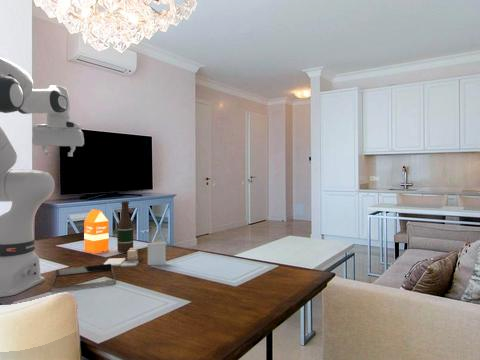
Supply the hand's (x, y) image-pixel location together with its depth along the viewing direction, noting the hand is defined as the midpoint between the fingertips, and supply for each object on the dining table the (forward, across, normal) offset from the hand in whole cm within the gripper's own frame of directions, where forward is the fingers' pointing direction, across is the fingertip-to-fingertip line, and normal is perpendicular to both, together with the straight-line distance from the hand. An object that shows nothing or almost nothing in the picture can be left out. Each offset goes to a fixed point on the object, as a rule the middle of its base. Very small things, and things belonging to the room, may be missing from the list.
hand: (58, 156), depth 147 cm
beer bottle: (+45, +25, +14) cm, 53 cm away
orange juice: (+45, +11, +16) cm, 49 cm away
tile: (+45, +43, -13) cm, 63 cm away
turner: (+45, +32, -9) cm, 56 cm away
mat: (+45, +25, -8) cm, 52 cm away
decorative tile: (+46, +20, -30) cm, 58 cm away
